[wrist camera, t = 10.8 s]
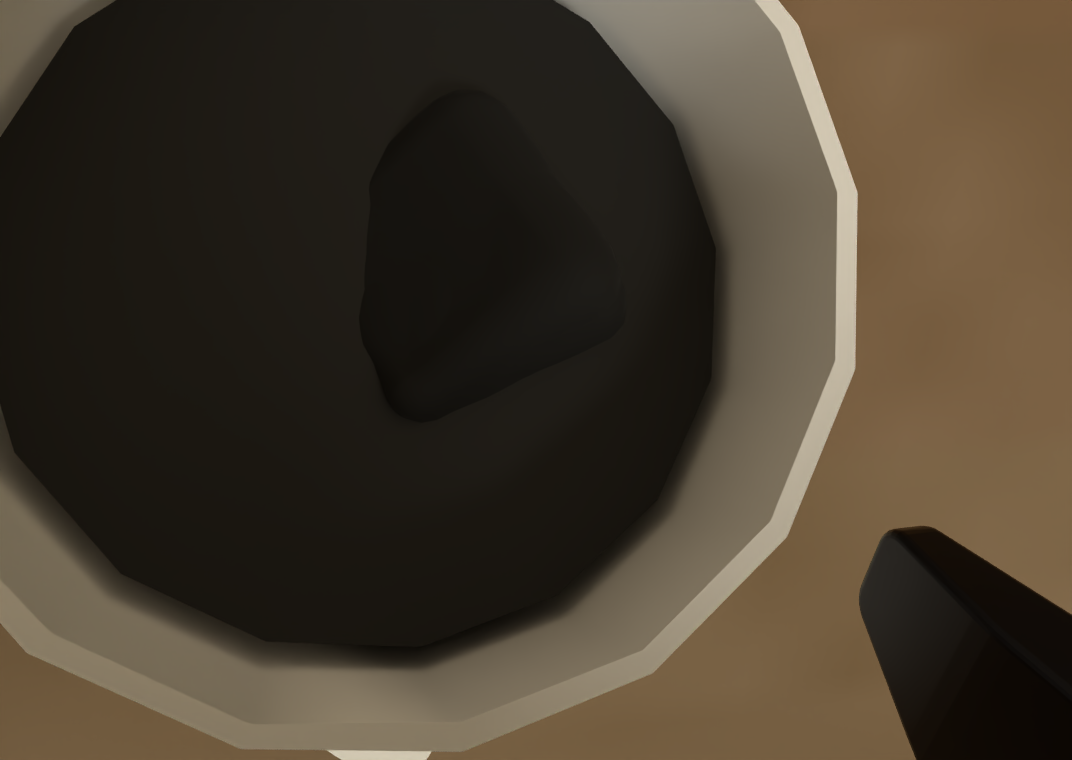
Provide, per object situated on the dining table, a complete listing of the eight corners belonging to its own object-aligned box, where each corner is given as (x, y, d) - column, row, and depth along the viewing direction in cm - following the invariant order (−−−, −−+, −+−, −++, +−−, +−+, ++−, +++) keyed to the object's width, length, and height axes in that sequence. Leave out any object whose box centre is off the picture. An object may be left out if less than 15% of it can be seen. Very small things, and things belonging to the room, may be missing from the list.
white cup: (407, 131, 17) (577, -373, 8) (602, 481, 17) (1020, 423, 8) (15, 311, 15) (-426, -53, 6) (233, 702, 15) (163, 1003, 6)
